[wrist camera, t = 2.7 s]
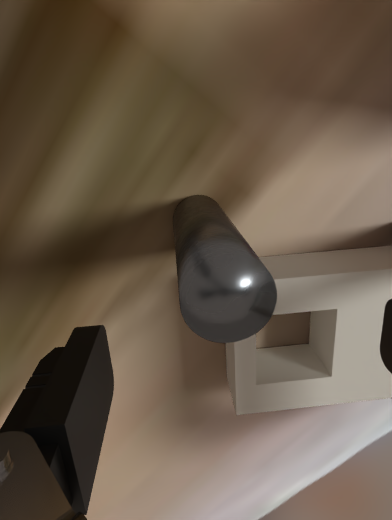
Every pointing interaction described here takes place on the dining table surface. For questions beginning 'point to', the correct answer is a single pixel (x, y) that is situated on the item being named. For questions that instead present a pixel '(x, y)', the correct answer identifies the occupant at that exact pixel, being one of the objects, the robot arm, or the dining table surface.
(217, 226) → the peg
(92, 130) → the dining table surface
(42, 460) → the robot arm
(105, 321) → the dining table surface
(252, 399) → the socket block
